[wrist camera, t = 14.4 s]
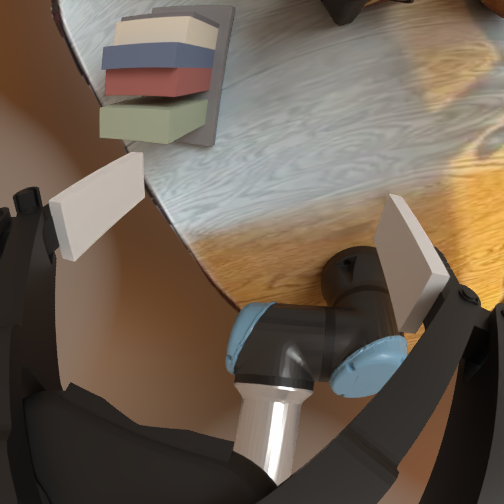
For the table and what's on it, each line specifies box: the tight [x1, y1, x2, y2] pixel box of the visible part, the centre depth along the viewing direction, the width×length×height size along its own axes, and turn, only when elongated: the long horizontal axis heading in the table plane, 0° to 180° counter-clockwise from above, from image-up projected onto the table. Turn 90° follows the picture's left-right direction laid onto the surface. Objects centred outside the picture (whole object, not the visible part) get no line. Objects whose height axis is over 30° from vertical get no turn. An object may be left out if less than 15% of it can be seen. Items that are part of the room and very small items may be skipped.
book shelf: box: [102, 5, 235, 147], centre depth 32 cm, size 23×13×14 cm, turn 171°
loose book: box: [100, 96, 208, 144], centre depth 35 cm, size 4×10×13 cm, turn 81°
